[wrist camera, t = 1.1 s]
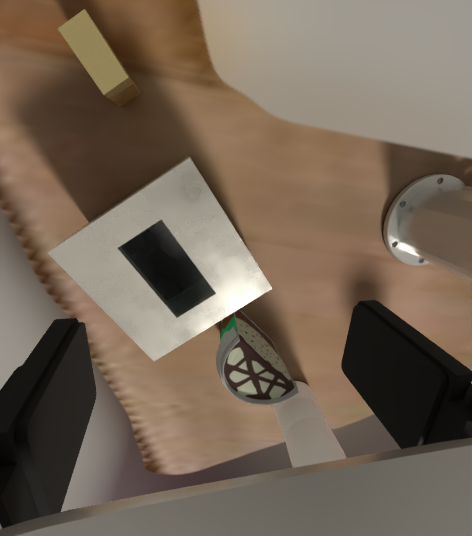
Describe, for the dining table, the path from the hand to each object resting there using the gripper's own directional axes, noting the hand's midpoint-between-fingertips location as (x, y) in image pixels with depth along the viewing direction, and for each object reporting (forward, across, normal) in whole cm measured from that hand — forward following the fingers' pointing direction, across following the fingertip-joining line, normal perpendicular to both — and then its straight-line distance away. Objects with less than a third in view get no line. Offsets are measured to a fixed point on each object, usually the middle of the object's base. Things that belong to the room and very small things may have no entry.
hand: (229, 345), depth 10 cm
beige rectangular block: (+28, +7, -13) cm, 32 cm away
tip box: (+28, +2, +4) cm, 28 cm away
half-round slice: (+27, -7, +19) cm, 34 cm away
